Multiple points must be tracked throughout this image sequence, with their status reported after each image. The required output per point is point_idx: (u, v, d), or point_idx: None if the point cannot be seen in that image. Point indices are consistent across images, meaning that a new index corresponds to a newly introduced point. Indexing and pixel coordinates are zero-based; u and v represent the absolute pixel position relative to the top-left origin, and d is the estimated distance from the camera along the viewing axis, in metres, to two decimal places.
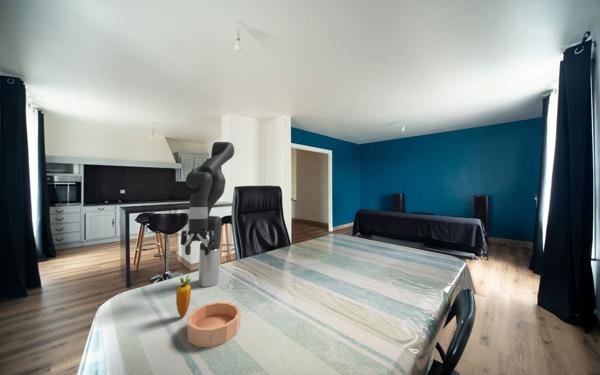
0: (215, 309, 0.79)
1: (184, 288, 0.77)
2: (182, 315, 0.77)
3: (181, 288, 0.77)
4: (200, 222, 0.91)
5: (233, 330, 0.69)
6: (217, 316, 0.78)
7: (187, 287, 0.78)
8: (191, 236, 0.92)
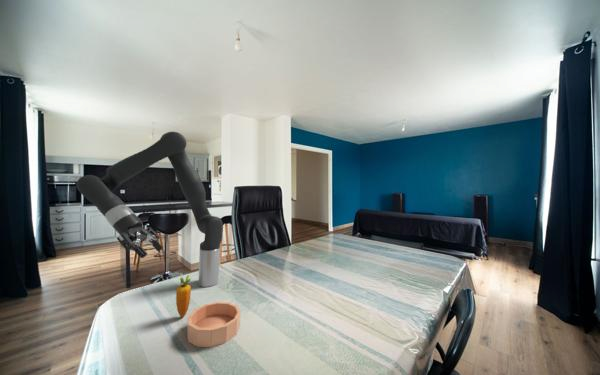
0: (215, 309, 0.79)
1: (184, 288, 0.77)
2: (182, 315, 0.77)
3: (181, 288, 0.77)
4: None
5: (233, 330, 0.69)
6: (217, 316, 0.78)
7: (187, 287, 0.78)
8: None
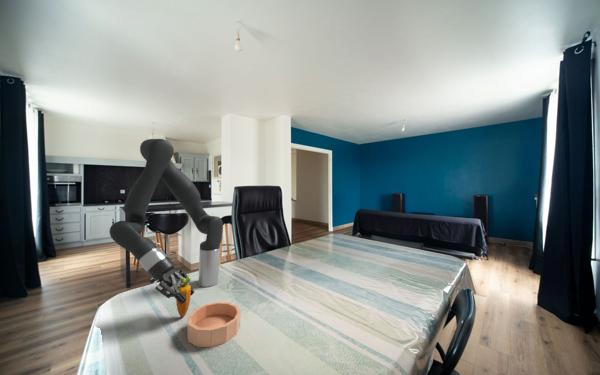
0: (215, 309, 0.79)
1: (184, 288, 0.77)
2: (182, 315, 0.77)
3: (181, 288, 0.77)
4: (150, 275, 0.76)
5: (233, 330, 0.69)
6: (217, 316, 0.78)
7: (187, 287, 0.78)
8: None
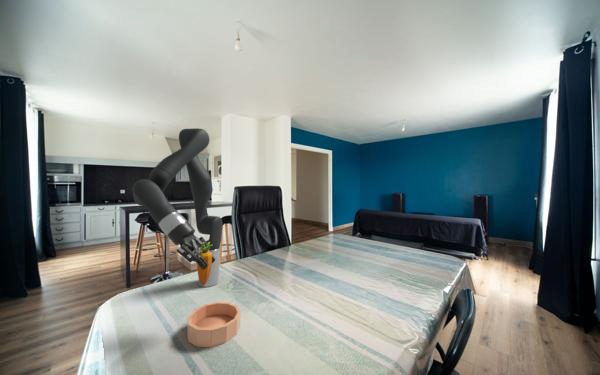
0: (215, 309, 0.79)
1: (205, 254, 0.73)
2: (203, 282, 0.73)
3: (202, 253, 0.72)
4: (170, 239, 0.72)
5: (233, 330, 0.69)
6: (217, 316, 0.78)
7: (208, 253, 0.74)
8: None
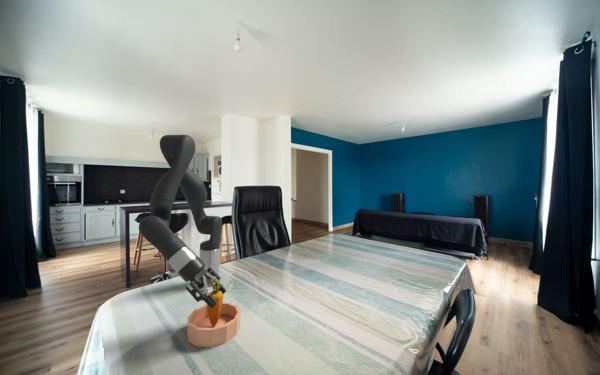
0: None
1: (216, 295, 0.71)
2: (214, 324, 0.71)
3: (213, 295, 0.71)
4: None
5: (233, 330, 0.69)
6: None
7: (219, 293, 0.72)
8: None
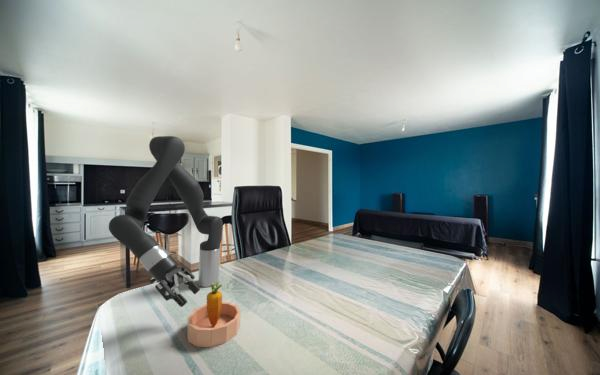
0: None
1: (215, 295, 0.71)
2: (214, 324, 0.71)
3: (212, 295, 0.71)
4: (151, 274, 0.70)
5: (233, 330, 0.69)
6: None
7: (218, 294, 0.72)
8: None
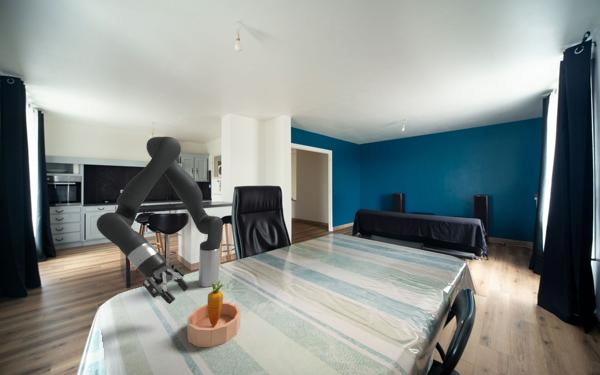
0: None
1: (216, 294, 0.71)
2: (214, 324, 0.71)
3: (213, 294, 0.71)
4: None
5: (233, 330, 0.69)
6: None
7: (219, 293, 0.72)
8: None
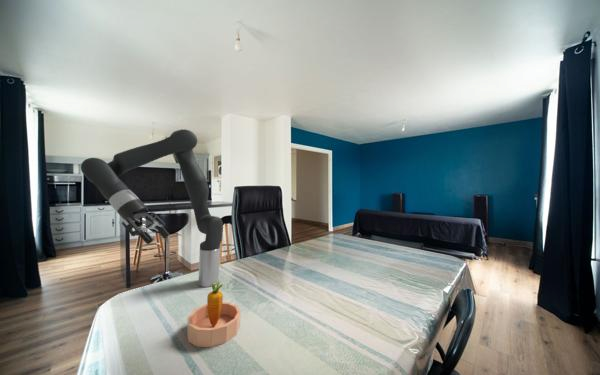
0: None
1: (216, 295, 0.71)
2: (214, 324, 0.71)
3: (213, 295, 0.71)
4: (120, 215, 0.73)
5: (233, 330, 0.69)
6: None
7: (219, 293, 0.72)
8: None
